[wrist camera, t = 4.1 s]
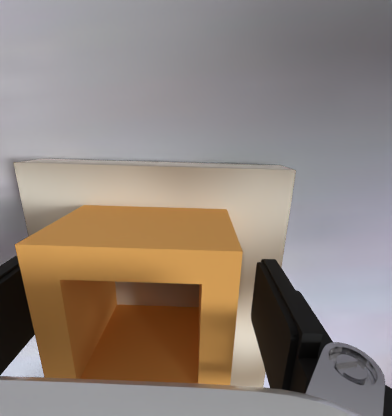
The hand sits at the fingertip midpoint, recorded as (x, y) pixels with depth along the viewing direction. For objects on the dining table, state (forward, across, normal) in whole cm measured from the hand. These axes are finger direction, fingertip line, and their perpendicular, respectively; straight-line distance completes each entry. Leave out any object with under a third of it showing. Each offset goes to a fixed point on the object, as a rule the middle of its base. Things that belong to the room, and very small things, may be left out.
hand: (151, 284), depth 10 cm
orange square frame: (+1, 0, 0) cm, 1 cm away
